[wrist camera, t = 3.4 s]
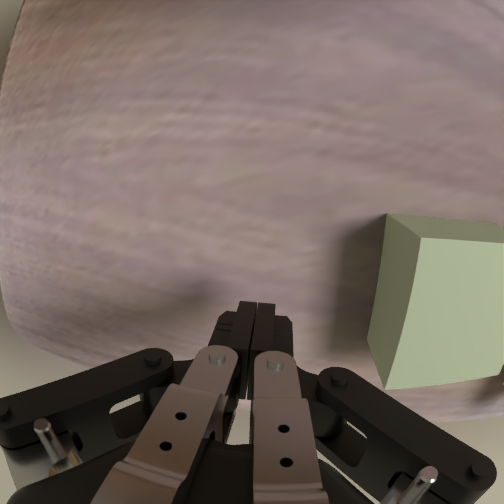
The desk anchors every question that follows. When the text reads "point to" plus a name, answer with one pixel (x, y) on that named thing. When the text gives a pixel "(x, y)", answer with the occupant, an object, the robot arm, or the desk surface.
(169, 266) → the desk surface
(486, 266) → the sage block
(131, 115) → the desk surface
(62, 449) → the robot arm
